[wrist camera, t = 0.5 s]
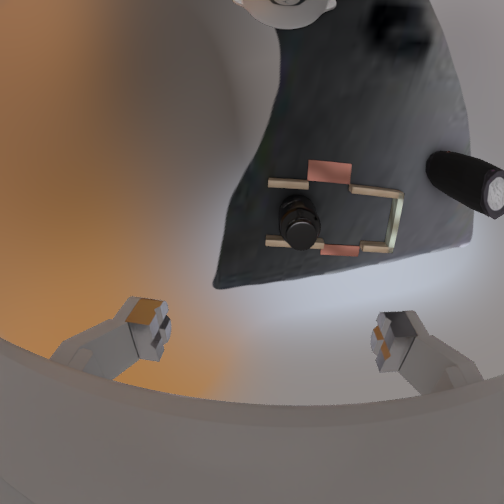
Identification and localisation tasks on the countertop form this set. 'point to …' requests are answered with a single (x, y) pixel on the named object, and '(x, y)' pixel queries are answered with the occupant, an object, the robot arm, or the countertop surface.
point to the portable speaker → (468, 181)
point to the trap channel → (342, 174)
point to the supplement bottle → (299, 222)
